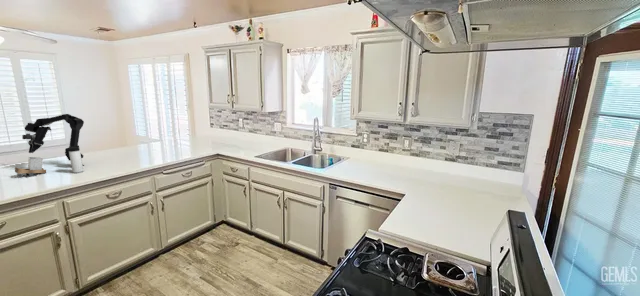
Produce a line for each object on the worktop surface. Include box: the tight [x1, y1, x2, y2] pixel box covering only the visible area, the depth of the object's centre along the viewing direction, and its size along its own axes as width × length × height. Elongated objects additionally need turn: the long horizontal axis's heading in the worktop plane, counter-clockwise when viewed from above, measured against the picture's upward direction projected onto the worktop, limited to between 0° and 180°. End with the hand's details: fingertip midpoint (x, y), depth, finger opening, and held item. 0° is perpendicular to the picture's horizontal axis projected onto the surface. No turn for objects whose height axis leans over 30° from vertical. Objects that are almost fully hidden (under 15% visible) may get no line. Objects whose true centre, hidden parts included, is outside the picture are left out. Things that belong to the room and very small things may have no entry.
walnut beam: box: [14, 167, 47, 174], centre depth 202 cm, size 14×8×4 cm, turn 147°
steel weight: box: [27, 156, 43, 170], centre depth 204 cm, size 6×6×9 cm
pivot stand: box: [16, 173, 44, 179], centre depth 203 cm, size 14×11×2 cm
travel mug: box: [67, 145, 84, 174], centre depth 208 cm, size 6×7×20 cm
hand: (30, 152), depth 212 cm, fingers open, 9 cm apart
